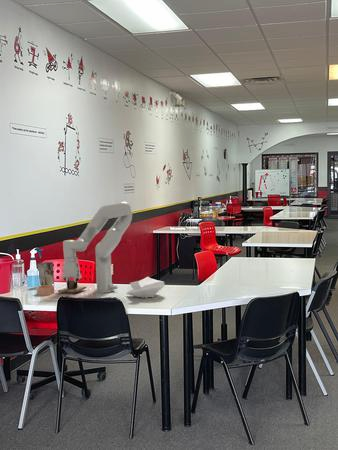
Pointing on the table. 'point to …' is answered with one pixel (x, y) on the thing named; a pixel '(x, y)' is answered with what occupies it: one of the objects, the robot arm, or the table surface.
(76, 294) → the mat
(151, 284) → the paper
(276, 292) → the table surface
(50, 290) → the bowl
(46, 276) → the coffee box
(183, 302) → the table surface
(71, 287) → the lid
